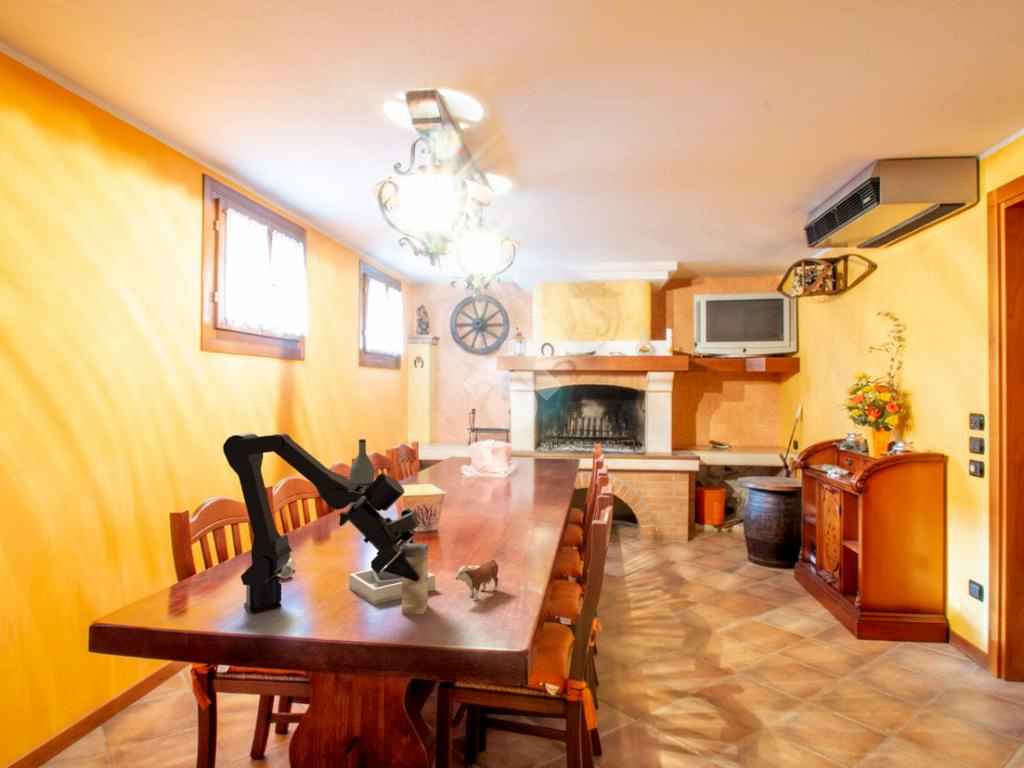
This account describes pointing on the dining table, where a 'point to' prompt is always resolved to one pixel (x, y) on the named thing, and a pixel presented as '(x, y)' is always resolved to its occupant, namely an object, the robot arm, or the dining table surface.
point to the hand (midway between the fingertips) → (421, 575)
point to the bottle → (362, 469)
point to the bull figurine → (478, 576)
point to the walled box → (380, 585)
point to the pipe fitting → (287, 569)
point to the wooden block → (417, 591)
